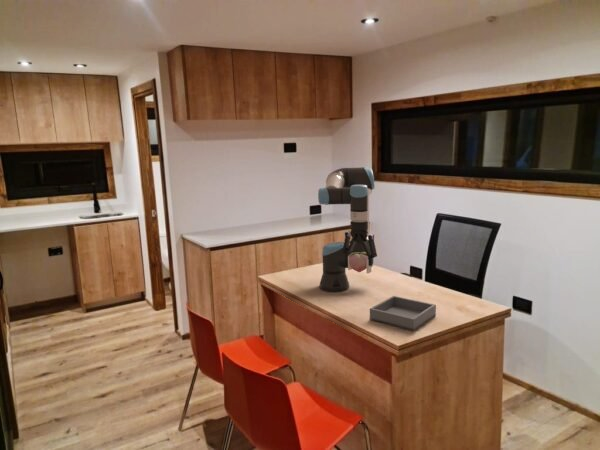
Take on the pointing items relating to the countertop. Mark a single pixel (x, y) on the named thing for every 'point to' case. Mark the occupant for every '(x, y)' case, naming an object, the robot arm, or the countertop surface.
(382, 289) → the countertop surface
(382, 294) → the countertop surface
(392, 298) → the bin
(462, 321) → the countertop surface
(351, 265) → the decorative fruit
